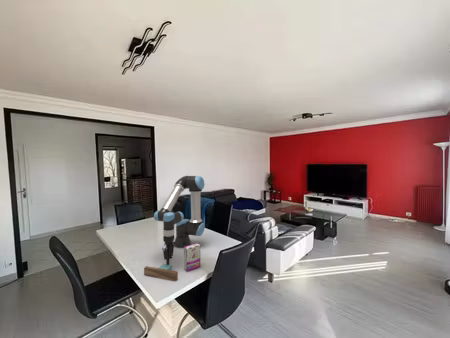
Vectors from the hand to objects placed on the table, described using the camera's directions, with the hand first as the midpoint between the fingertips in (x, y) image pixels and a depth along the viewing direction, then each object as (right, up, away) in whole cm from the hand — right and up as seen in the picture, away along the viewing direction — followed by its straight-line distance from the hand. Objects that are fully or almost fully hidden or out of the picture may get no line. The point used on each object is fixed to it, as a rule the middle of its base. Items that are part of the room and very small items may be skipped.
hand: (168, 267), depth 143 cm
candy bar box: (+16, -2, +2) cm, 17 cm away
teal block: (-2, -2, -4) cm, 5 cm away
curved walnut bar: (-3, -2, -10) cm, 10 cm away
